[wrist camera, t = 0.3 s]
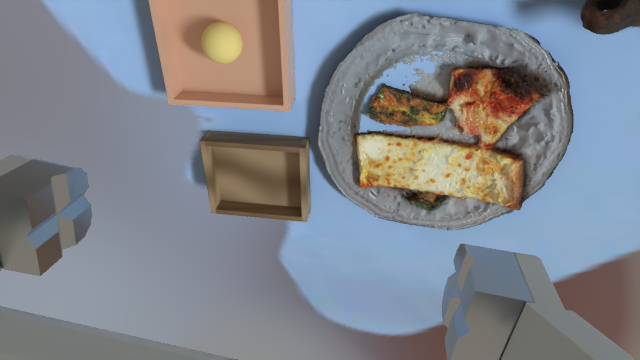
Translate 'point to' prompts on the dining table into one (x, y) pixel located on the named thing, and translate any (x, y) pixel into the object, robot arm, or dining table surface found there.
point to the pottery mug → (610, 15)
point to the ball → (221, 42)
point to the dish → (238, 76)
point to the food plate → (446, 123)
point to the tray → (257, 175)
